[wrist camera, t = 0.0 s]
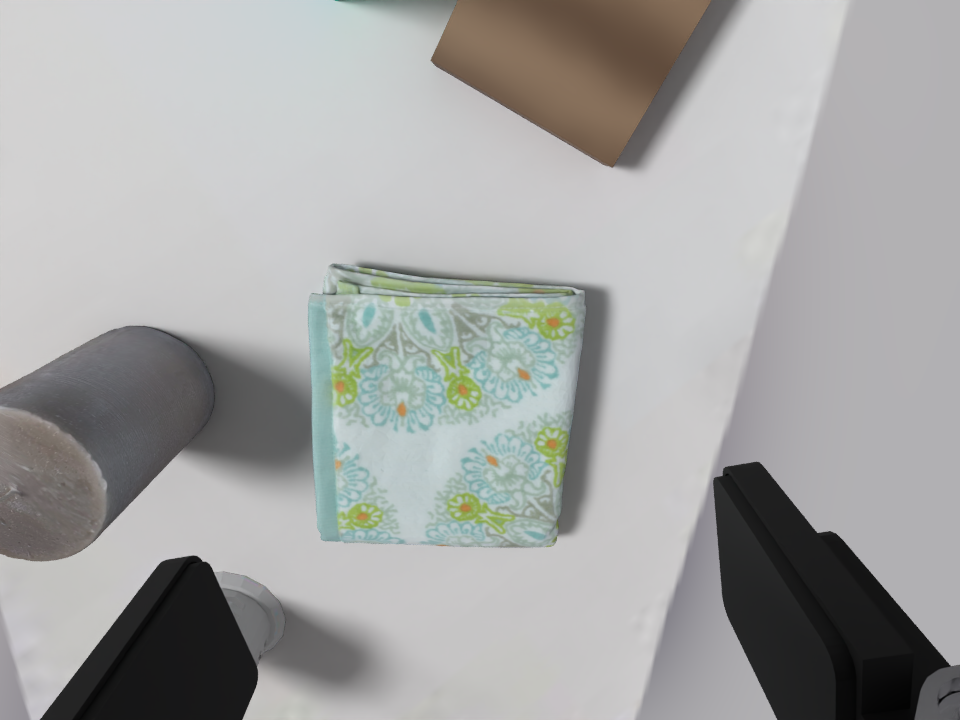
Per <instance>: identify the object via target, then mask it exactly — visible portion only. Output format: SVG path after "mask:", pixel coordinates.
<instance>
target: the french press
mask: <svg viewBox="0 0 960 720" xmlns="http://www.w3.org/2000/svg"><path fill="white" fill-rule="evenodd" d="M214 574H215V576H216V578H217V580H218V583H219V585H220V587H221V589H222V591H223V593H224V596H225V598H226V600H227V602H228V604H229V606H230V609H231V611H232V613H233V615H234V617H235V619H236V622H237V624H238V626H239V628H240V630H241V632H242V635H243V637H244V639H245V641H246V643H247V645H248V648H249V650H250V652H251V654H252V656H253V658H254V661H255V663H256V665H258V663H259V659H260V658H261V656H262V654H263V653H264V652H266V651H268V650H270V649H272V648H273V647H274V646H275V645H276V644H277V642H278V641H279V640H280V639H281V637H282V636H283V633H284V627H285V620H286V619H285V616H284V613H283V610H282V607H281V605H280V602H279V601H278V600H277V599H276V598H275V597H274V595H273V594H272V593H271V592H270V591H269V590H268V589H267V588H266V587H265V586H263V585H261V584H259V583H257V582H256V581H254V580H252V579H250V578H248V577H246V576H242V575H237V574H232V573H227V572H216V573H214ZM260 654H261V655H260ZM259 655H260V657H259Z"/></svg>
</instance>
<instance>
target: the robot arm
mask: <svg viewBox="0 0 960 720" xmlns="http://www.w3.org/2000/svg"><path fill="white" fill-rule="evenodd" d="M713 485H714V498H715V510H716V523H717V535H718V548H719V560H720V572H721V584H722V597H723V602H724V607H725V610H726V613H727V616H728V618H729V620H730V623H731V625H732V627H733V629H734V631H735V633H736V635H737V637H738V639H739V641H740V643H741V645H742V647H743V649H744V652H745V654H746V656H747V658H748V660H749V662H750V664H751V666H752V668H753V670H754V672H755V674H756V676H757V678H758V681H759V683H760V684H761V687H762V689H763V691H764V693H765V695H766V697H767V699H768V701H769V703H770V705H771V707H772V709H773V711H774V714H775V716H776V718H777V720H960V665H956V666H950V665H949V663H948V662H946V660H945V659H944V658H943V656H942V655H941V654H940V653H939V652H938V651H937V650H936V648H935V647H934V646H933V645H932V644H931V642H930V641H929V640H928V639H927V638H926V637H925V635H924V634H923V633H922V632H921V631H920V630H919V629H918V627H917V626H916V625H915V624H914V623H913V621H912V620H911V619H910V618H909V617H908V616H907V614H906V613H905V612H904V611H903V610H902V609H901V607H900V606H899V605H898V604H897V603H896V602H895V601H894V599H893V598H892V597H891V596H890V595H889V593H888V592H887V591H886V590H885V589H884V588H883V587H882V585H881V584H880V583H879V582H878V581H877V579H876V578H875V577H874V576H873V575H872V574H871V572H870V571H869V570H868V569H867V568H866V567H865V565H864V564H863V563H862V562H861V561H860V559H858V557H857V556H856V555H855V554H854V553H853V551H852V550H851V549H850V548H849V547H848V545H846V543H845V542H844V541H843V540H842V539H841V538H840V537H839V536H838V535H837V534H836V533H833V532H831V531H829V532H822V533H817V532H816V531H815V530H814V529H813V528H812V526H811V525H810V524H809V522H808V521H807V520H806V519H805V517H804V516H803V515H802V514H801V512H800V511H799V510H798V509H797V507H796V506H795V505H794V504H793V502H792V501H791V500H790V499H789V497H788V496H787V495H786V494H785V493H784V491H783V490H782V489H781V488H780V486H779V485H778V484H777V483H776V481H775V480H774V479H773V478H772V477H771V475H770V474H769V473H768V471H767V470H766V469H765V468H764V467H763V465H762V464H760V463H759V462H753V463H747V464H741V465H734V466H728V467H725V468H724V469H723V476H720V477H715V478H714V481H713ZM257 680H258V669H257V665H256V663H255V661H254V658H253V656H252V654H251V652H250V650H249V648H248V645H247V643H246V641H245V639H244V637H243V635H242V632H241V630H240V628H239V626H238V624H237V622H236V619H235V617H234V615H233V613H232V611H231V609H230V606H229V604H228V602H227V600H226V598H225V596H224V593H223V591H222V589H221V587H220V585H219V583H218V580H217V578H216V576H215V574H214V572H213V570H212V568H211V566H210V564H208V563H207V562H203V561H202V560H201V559H200V558H199V557H198V556H187V557H181V558H175V559H169V560H165V561H163V562H161V563H160V564H159V565H158V566H157V568H156V569H155V570H154V572H153V573H152V574H151V575H150V577H149V578H148V579H147V581H146V582H145V583H144V585H143V586H142V587H141V589H140V590H139V591H138V592H137V594H136V595H135V596H134V598H133V599H132V600H131V602H130V603H129V604H128V605H127V607H126V608H125V609H124V611H123V612H122V613H121V615H120V616H119V617H118V619H117V620H116V621H115V622H114V624H113V625H112V626H111V628H110V629H109V630H108V632H107V633H106V634H105V636H104V637H103V638H102V639H101V641H100V642H99V643H98V645H97V646H96V647H95V649H94V650H93V651H92V653H91V654H90V655H89V656H88V658H87V659H86V660H85V662H84V663H83V664H82V666H81V667H80V668H79V669H78V671H77V672H76V673H75V675H74V676H73V677H72V679H71V680H70V681H69V683H68V684H67V685H66V686H65V688H64V689H63V690H62V692H61V693H60V694H59V696H58V697H57V698H56V700H55V701H54V702H53V703H52V705H51V706H50V707H49V709H48V710H47V711H46V713H45V714H44V715H43V717H42V718H41V719H40V720H242V719H243V717H244V714H245V712H246V710H247V707H248V705H249V702H250V700H251V698H252V695H253V693H254V691H255V688H256V685H257Z"/></svg>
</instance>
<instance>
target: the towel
mask: <svg viewBox="0 0 960 720" xmlns="http://www.w3.org/2000/svg"><path fill="white" fill-rule="evenodd" d="M584 301H585V291H584V290H578V289H576V288H574V287H566V286H550V285H531V284H519V283H504V282H491V281H477V280H463V279H439V278H424V277H418V276H411V275H404V274H398V273H392V272H386V271H380V270H375V269H369V268H362V267H357V266H350V265H345V264H331V265H330V266H329V267H328V273H327V275H326V276H325V279H324V287H323V294H314V293H312V294H310V298H309V303H308V327H309V343H310V361H311V386H312V447H313V466H314V481H315V493H316V512H317V528H318V530H319V532H320V533H321V540H323V541H335V542H338V541H342V542H344V543H371V544H409V545H437V546H456V547H500V548H528V547H550V546H553V545H554V544H555V543H556V541H557V536H558V530H559V525H558V517H559V516H560V514H561V509H562V492H563V477H564V473H565V467H566V462H567V453H568V445H569V440H570V431H571V426H572V420H573V413H574V403H575V396H576V388H577V381H578V373H579V364H580V356H581V351H582V345H583V333H584V323H585V316H586V305H585V303H584Z"/></svg>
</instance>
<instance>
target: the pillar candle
mask: <svg viewBox="0 0 960 720" xmlns="http://www.w3.org/2000/svg"><path fill="white" fill-rule="evenodd" d="M213 406H214V386H213V382H212V380H211V376H210V374H209V372H208V370H207V367H206V366H205V364H204V362H203V361H202V360H201V359H200V357H199V356H198V355H197V353H196V352H195V351H194V350H193V349H192V348H191V347H189V346H188V345H187V344H185V343H183V342H181V341H180V340H177V339H175V338H174V337H172V336H170V335H168V334H166V333H163V332H161V331H158V330H155V329H152V328H149V327H144V326H126V327H123V328H119V329H114V330H111V331H108V332H106V333H104V334H102V335H100V336H98V337H96V338H94V339H92V340H90V341H88V342H87V343H85V344H83V345H81V346H80V347H77V348H75V349H74V350H72V351H70V352H68V353H66V354H64V355H62V356H60V357H59V358H57V359H55V360H54V361H52V362H50V363H48V364H46V365H44V366H43V367H41V368H39V369H37V370H36V371H34V372H32V373H30V374H28V375H26V376H24V377H22V378H20V379H19V380H17V381H15V382H13V383H11V384H8V385H7V386H5V387H3V388H1V389H0V554H3V555H6V556H7V557H11V558H17V559H24V560H30V561H51V560H58V559H62V558H66V557H69V556H72V555H74V554H76V553H78V552H80V551H82V550H83V549H85V548H86V547H88V546H89V545H90V544H91V543H93V542H94V541H95V540H96V539H97V538H98V537H99V536H100V535H101V533H102V532H103V531H104V530H105V529H106V528H107V527H108V526H109V525H110V524H111V523H112V522H113V521H114V520H115V519H116V518H117V517H118V516H119V515H120V514H121V513H122V512H123V511H124V510H125V508H126V507H127V506H128V505H129V504H130V503H131V502H132V501H133V500H134V499H135V498H136V497H137V496H138V495H139V494H140V493H141V492H142V491H143V490H144V489H145V488H146V487H147V486H148V485H149V484H150V482H151V481H152V480H153V479H154V478H155V477H156V476H157V475H158V474H159V473H160V472H161V471H162V470H163V469H164V468H165V467H166V466H167V465H168V463H169V462H170V461H171V460H172V459H173V458H174V457H175V456H176V455H177V454H178V453H179V452H180V451H181V450H182V449H183V448H184V447H185V446H186V445H187V444H188V443H189V442H190V440H191V439H192V438H194V436H195V435H196V434H197V433H198V432H199V431H200V430H201V429H202V428H203V427H204V425H205V424H206V423H207V422H208V420H209V417H210V416H211V413H212V410H213Z"/></svg>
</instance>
